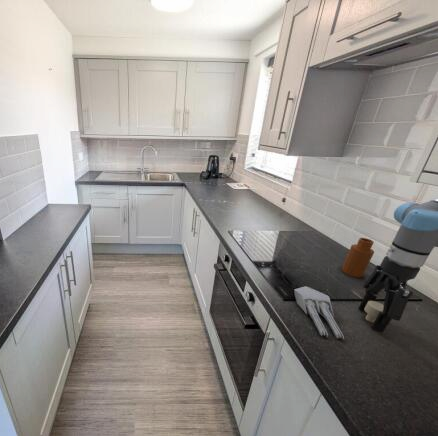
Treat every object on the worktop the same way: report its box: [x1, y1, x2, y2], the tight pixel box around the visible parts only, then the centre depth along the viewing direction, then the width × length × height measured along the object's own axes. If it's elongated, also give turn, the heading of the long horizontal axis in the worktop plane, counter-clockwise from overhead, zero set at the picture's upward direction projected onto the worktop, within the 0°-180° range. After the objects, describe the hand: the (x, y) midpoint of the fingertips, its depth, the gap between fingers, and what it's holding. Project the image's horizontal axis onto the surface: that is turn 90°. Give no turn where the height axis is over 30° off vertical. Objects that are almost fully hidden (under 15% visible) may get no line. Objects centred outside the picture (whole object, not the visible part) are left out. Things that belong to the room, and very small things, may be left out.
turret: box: [293, 285, 345, 340], centre depth 77 cm, size 10×20×5 cm, turn 170°
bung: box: [364, 300, 384, 324], centre depth 75 cm, size 5×5×6 cm
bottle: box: [341, 237, 375, 278], centre depth 98 cm, size 7×7×16 cm
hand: (369, 319), depth 76 cm, fingers open, 8 cm apart
